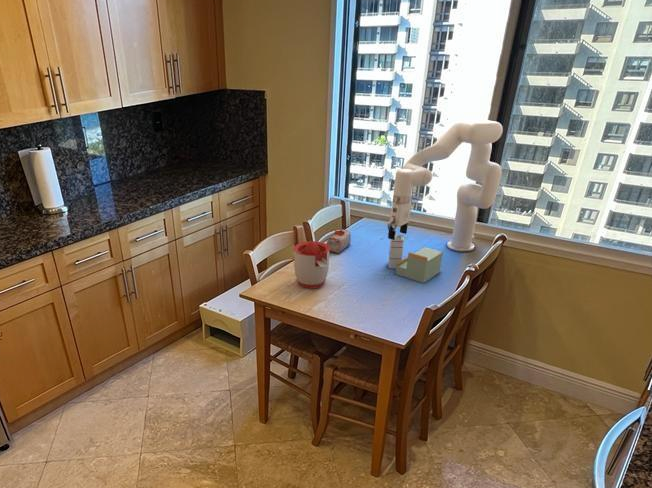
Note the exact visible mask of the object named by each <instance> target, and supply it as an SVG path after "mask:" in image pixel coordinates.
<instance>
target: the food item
mask: <svg viewBox="0 0 652 488" xmlns="http://www.w3.org/2000/svg"><path fill="white" fill-rule="evenodd" d="M351 235H352V234H351V231H350V230H347V229H340V230H337V229H335V230H334V233H333V234H332V233H331V235H330V236H328V238H327V240H326V244H327V245H329V247H330V250H329V252H332V253H335V254H338V255H339V254H340V253H342V252H343V251H344V250H345V249H346V248H348V247H349V246H350V245H351Z"/></svg>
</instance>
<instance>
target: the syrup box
mask: <svg viewBox="0 0 652 488" xmlns="http://www.w3.org/2000/svg"><path fill="white" fill-rule="evenodd" d="M404 239H405V238H404V235H403V234H395V239H394V240H392V239H389V240H390V242H389V252H388V269H394V270H396V266H397V263H398V262H400V261H401V260H403V253H404V243H405V240H404Z"/></svg>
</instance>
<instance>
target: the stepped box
mask: <svg viewBox="0 0 652 488" xmlns="http://www.w3.org/2000/svg"><path fill="white" fill-rule="evenodd" d="M443 253H444V252H443V251H441V250H437V249H434V248H429V247H425V246H424V247H422V248H419V250H417V251H415V252H411V251H409V252H408V254H407V256H406V257H404V258H402V260H401V261H400V262H398V263H397V266H396V269H395V275H398V276H400V277H404V278H407V279H410V280H412V281H416V282H419V283H422V284H424V283H426V282H427V281H429V280H430V279H432V278H433V277H435V276H437V275H438V274H439V273H440V271H441V265H442V259H443Z"/></svg>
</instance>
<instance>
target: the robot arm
mask: <svg viewBox="0 0 652 488" xmlns="http://www.w3.org/2000/svg"><path fill="white" fill-rule="evenodd" d="M503 131H504V129H503V125H502V124H501V122H498V121H496V120H495V121H493V120H488V119H484V118H475V117H474V118H473V117H472V118H470V119H467V120H465V119H458V120H455V121H454V122H452V123H451V125H450V126H449V127H448V128H447V129H446V130H445V132H443V133H442V134H441V136H440V137H439V138H438V139H437V140H436V141H435V142H434V143H433V144H432V145H429V146H427V147H425V148H423V149H421V150H419V151H417V152H416V153H415V154H413V155H412V156H411V157H410V158H408V160H407V161H406V163H405V164H404V165H403V166H402V168H400V169H398V170H397V171H396V172H395V179H394V180H395V181H394V185H393V186H394V188H393V196H392V205H391V209H390V214H389V215H390V216H389V220H388V221H387V223H386V224H387V229H388V235H387V239H389V240H391V239H392V240H394V239H395V235H396V232H397V231H396V229H397V227H398V228H399V233H401V234H404V235H406V234H407V233H408V225H409V222H411V216H412V213H411V212H412V202H411V201H412V193H413V188H414V187H424V186H427V185H429V184H430V183H431V181H432V179H433V173H432V171H431V170H430V169H429V168H427V167H423V166H424V165H427V164H428V163H432V162H439V161H442V160H446V159H448V158H450V156H451V155H452V154H454V152H455V151H456V150H457V148H458V147H460V145H462V143H465V144H470V146H471V147H470V153H469V158H468V163H467V167H466V171H465V177H466V178H467V179H468V180H471V181H473V182H465V183H461V185H460V186H459V187H458V189H457V193H456V212H455V215H454V216H455V217H454V221H453V228H452V235H451V240H450V241H448V242H447V245H446V246H447V248H448V249H450V250H452V251H455V252H470V251H473V250H474V249H475V244H474V243H473V239H475V235H474V233H475V228H476V223H477V218H478V209H483V210H486V209H489V208H490V207H491V206H492V205H493V204H494V202H495V199H496V197H497V194H498V190H499V187H500V184H501V180H502V175H503V169H502V167H501V165H500V164H498V163H497V162H493V161H490V160H491V154H492V149H493V147H492V146H493V145H492V144H493V143H495V142H497V141H498V140H500V138H501V137H502V136H503V135H502V134H503ZM476 182H477V183H476ZM478 183H479V184H478ZM480 183H481V184H480Z"/></svg>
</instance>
